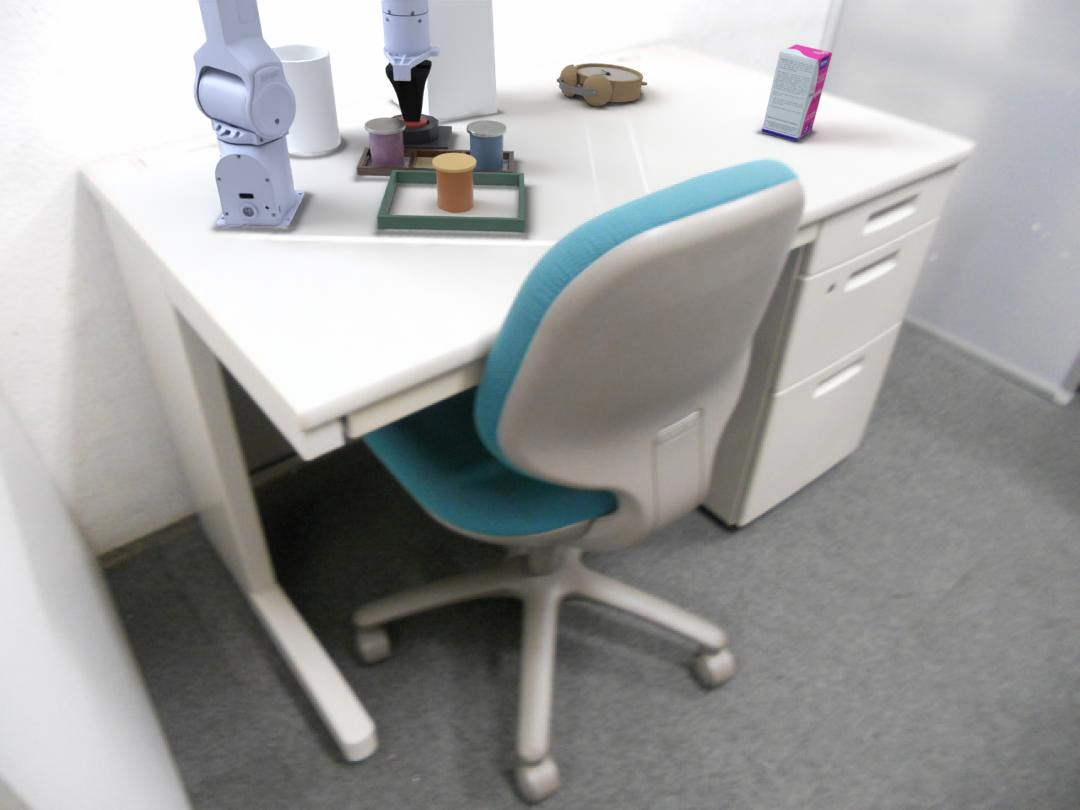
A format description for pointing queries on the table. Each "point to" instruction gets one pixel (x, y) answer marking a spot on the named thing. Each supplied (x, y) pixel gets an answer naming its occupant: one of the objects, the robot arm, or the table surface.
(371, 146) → the mauve pod
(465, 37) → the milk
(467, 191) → the coffee pod
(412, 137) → the button block
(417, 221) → the tray
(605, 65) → the alarm clock
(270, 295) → the table surface
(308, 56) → the mug
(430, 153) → the pod stand
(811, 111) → the supplement box
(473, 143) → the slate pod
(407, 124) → the button
